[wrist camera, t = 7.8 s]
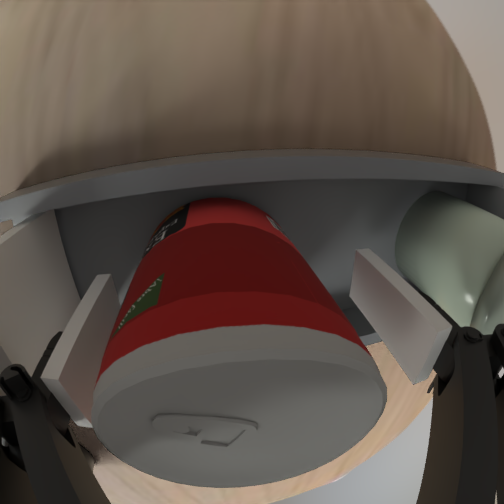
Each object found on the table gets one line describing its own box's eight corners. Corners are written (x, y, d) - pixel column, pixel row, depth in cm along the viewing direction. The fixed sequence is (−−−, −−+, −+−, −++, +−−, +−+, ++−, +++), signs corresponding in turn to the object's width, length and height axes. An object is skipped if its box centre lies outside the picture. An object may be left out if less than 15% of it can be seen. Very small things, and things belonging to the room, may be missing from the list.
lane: (64, 338, 17) (34, 406, 11) (14, 191, 13) (-57, 230, 6) (445, 286, 22) (492, 329, 15) (469, 162, 17) (535, 185, 10)
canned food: (158, 180, 13) (56, 313, 3) (305, 210, 15) (443, 344, 5) (144, 305, 16) (111, 477, 6) (268, 322, 18) (321, 478, 8)
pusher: (76, 334, 16) (32, 451, 7) (33, 211, 12) (-79, 302, 4) (99, 334, 16) (61, 459, 8) (59, 205, 12) (-59, 302, 4)
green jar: (384, 288, 19) (460, 372, 11) (399, 187, 16) (514, 243, 7) (449, 274, 20) (519, 333, 12) (466, 189, 16) (556, 232, 8)
